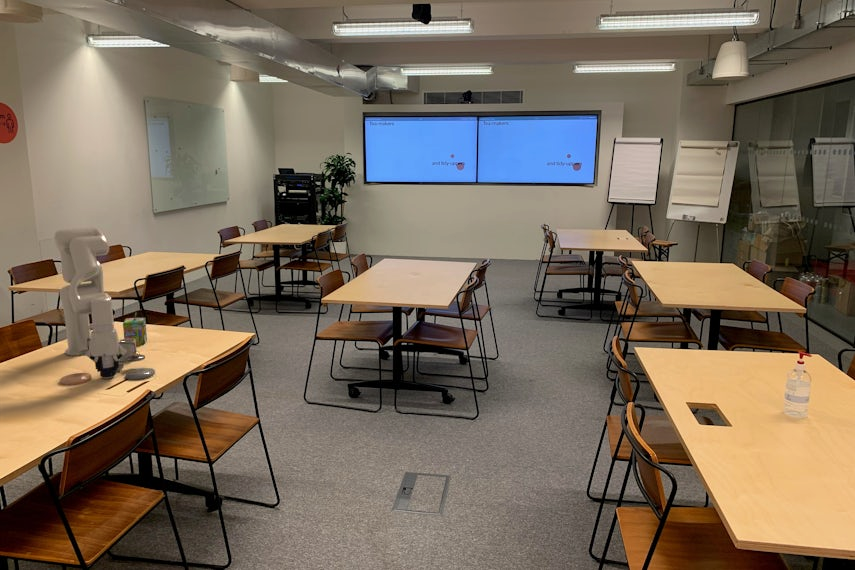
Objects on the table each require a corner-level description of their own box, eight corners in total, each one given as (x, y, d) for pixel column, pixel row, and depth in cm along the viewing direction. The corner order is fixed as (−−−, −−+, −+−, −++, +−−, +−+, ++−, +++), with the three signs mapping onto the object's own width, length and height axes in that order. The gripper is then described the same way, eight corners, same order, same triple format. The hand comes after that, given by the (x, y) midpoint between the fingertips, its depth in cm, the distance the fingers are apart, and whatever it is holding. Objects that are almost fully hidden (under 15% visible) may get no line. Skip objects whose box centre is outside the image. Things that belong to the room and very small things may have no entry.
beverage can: (118, 374, 255) (116, 346, 252) (112, 379, 249) (109, 351, 247) (104, 374, 255) (102, 346, 252) (98, 379, 249) (95, 351, 247)
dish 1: (65, 376, 252) (64, 374, 252) (94, 374, 255) (94, 371, 255) (56, 386, 242) (56, 383, 242) (87, 383, 245) (87, 381, 245)
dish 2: (128, 372, 259) (128, 369, 258) (157, 369, 262) (156, 367, 261) (123, 381, 248) (123, 378, 248) (153, 378, 251) (152, 376, 251)
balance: (84, 369, 262) (80, 336, 259) (147, 364, 268) (144, 332, 265) (79, 375, 254) (75, 341, 251) (144, 370, 261) (141, 337, 258)
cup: (131, 362, 270) (129, 343, 268) (109, 361, 271) (107, 342, 269) (140, 357, 277) (138, 338, 275) (119, 356, 278) (117, 337, 276)
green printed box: (127, 341, 302) (124, 311, 298) (147, 339, 304) (145, 310, 301) (124, 346, 293) (121, 316, 290) (145, 344, 296) (142, 315, 293)
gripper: (77, 331, 242) (82, 375, 246) (125, 329, 246) (129, 371, 250) (82, 326, 249) (86, 368, 253) (128, 323, 253) (132, 365, 257)
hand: (107, 369), depth 251 cm, fingers closed on beverage can, 5 cm apart
